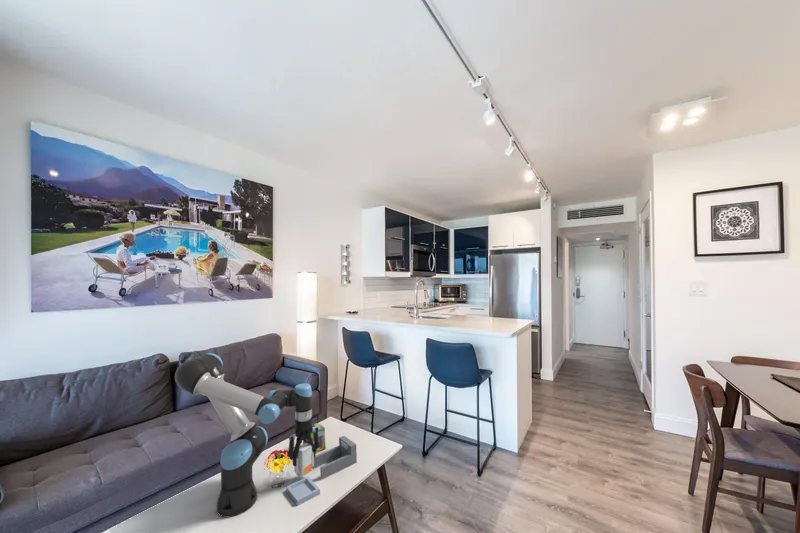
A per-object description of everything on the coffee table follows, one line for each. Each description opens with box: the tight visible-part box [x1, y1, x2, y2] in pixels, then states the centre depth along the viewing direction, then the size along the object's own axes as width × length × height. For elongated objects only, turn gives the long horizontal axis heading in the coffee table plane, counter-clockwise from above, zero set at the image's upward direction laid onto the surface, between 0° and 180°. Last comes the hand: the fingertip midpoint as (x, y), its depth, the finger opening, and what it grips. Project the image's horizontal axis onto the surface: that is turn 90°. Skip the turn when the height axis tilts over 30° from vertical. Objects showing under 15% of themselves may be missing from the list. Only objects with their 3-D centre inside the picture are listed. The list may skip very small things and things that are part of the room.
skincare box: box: [295, 443, 313, 479], centre depth 145 cm, size 6×4×12 cm
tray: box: [286, 476, 321, 506], centre depth 136 cm, size 10×12×2 cm
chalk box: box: [302, 422, 327, 454], centre depth 170 cm, size 9×9×15 cm
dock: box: [312, 435, 358, 480], centre depth 154 cm, size 19×12×9 cm, turn 131°
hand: (304, 468), depth 145 cm, fingers closed on skincare box, 7 cm apart
